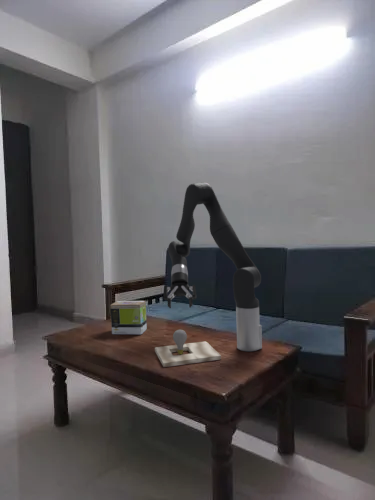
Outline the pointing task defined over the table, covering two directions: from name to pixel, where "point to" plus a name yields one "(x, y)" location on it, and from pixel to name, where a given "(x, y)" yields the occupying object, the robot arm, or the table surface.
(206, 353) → the cream board with hole
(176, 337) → the light bulb
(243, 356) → the table surface
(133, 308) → the tea box
